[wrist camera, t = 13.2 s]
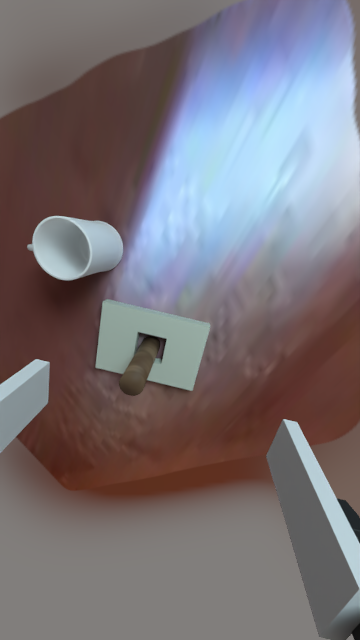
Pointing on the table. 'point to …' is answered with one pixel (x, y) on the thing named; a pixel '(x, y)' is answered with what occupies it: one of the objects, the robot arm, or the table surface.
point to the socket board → (180, 332)
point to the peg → (140, 367)
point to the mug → (75, 247)
